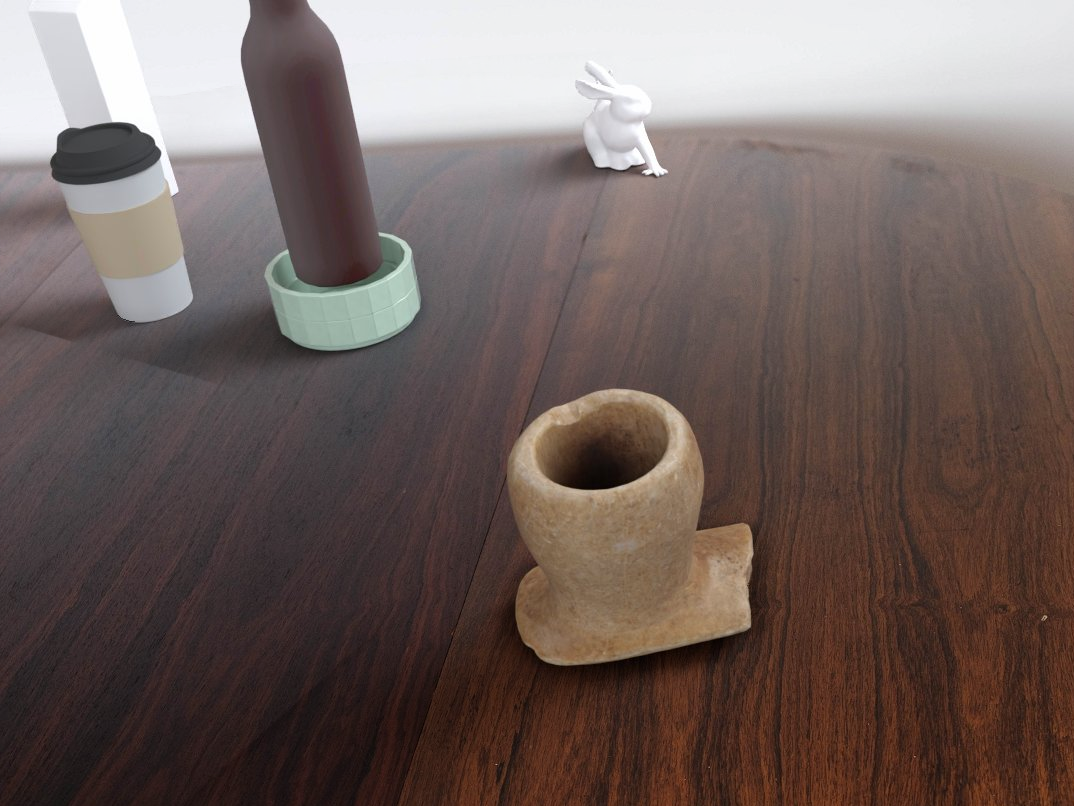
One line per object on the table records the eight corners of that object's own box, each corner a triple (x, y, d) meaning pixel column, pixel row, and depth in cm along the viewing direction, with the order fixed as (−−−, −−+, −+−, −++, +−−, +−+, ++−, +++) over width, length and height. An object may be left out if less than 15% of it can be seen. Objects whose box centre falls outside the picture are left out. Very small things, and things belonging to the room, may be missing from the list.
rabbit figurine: (669, 175, 128) (664, 71, 121) (597, 191, 126) (588, 87, 120) (626, 137, 136) (620, 37, 129) (559, 152, 135) (548, 51, 128)
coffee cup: (223, 283, 118) (171, 112, 108) (174, 330, 112) (114, 154, 102) (137, 279, 120) (78, 111, 110) (85, 325, 114) (17, 152, 104)
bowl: (250, 336, 110) (234, 280, 107) (344, 276, 117) (331, 222, 114) (359, 365, 105) (345, 307, 101) (450, 300, 112) (440, 244, 108)
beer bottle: (353, 241, 112) (261, -174, 91) (402, 266, 107) (317, -165, 87) (278, 271, 109) (165, -152, 88) (324, 298, 104) (217, -141, 83)
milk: (135, 187, 138) (57, -47, 122) (180, 192, 135) (107, -46, 120) (97, 210, 134) (12, -29, 118) (143, 216, 132) (63, -27, 116)
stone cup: (530, 713, 73) (493, 491, 63) (511, 587, 82) (475, 373, 72) (792, 671, 74) (797, 444, 64) (746, 550, 83) (743, 333, 72)
